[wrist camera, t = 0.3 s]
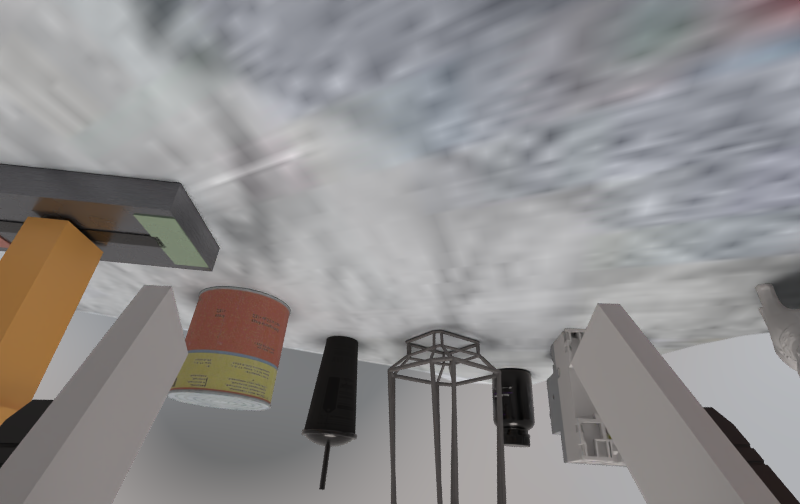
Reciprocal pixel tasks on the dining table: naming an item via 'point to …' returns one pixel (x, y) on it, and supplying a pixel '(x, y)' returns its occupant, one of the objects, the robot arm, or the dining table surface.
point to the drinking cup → (334, 398)
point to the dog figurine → (781, 326)
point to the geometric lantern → (436, 416)
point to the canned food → (232, 350)
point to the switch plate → (110, 215)
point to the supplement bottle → (515, 406)
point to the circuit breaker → (576, 409)
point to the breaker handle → (38, 302)
